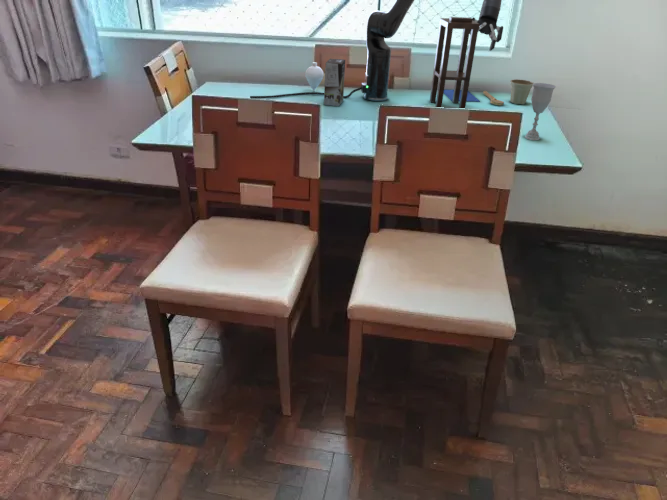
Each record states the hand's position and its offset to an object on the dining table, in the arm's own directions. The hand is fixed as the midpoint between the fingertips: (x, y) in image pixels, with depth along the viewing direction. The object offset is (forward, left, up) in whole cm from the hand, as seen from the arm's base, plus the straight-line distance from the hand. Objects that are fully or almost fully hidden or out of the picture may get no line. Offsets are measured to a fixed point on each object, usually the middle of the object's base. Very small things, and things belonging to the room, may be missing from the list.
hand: (481, 47), depth 231 cm
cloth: (-6, 0, -20) cm, 21 cm away
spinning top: (-69, 0, -20) cm, 72 cm away
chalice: (+4, -55, -20) cm, 59 cm away
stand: (-16, -16, -20) cm, 30 cm away
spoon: (+6, -5, -22) cm, 23 cm away
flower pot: (+17, -9, -20) cm, 28 cm away
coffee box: (-62, -16, -20) cm, 67 cm away
